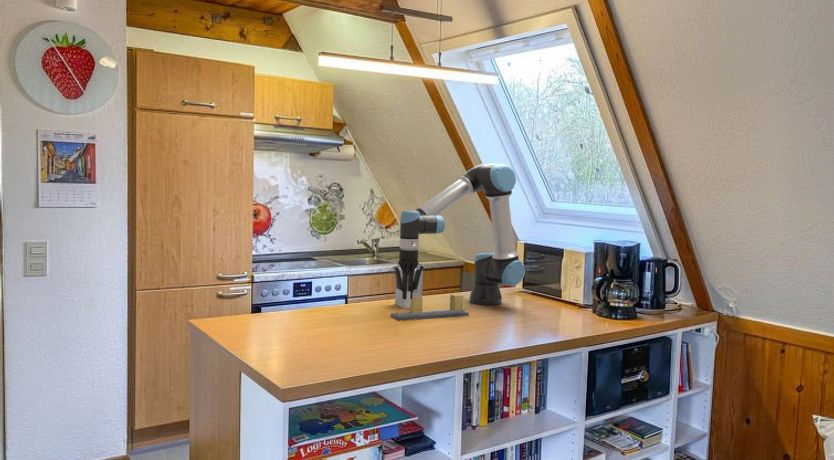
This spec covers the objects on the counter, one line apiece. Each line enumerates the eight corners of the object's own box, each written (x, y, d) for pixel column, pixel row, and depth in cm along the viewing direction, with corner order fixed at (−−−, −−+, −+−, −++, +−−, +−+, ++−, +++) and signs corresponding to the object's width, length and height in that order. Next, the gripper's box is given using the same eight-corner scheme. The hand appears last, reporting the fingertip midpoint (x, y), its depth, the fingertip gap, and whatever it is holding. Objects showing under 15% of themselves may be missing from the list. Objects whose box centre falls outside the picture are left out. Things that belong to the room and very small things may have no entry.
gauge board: (390, 316, 259) (391, 295, 258) (458, 311, 273) (459, 292, 272) (399, 320, 251) (399, 299, 250) (468, 315, 265) (469, 295, 264)
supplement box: (394, 304, 282) (395, 267, 281) (413, 303, 286) (414, 266, 285) (402, 308, 274) (404, 270, 272) (422, 307, 278) (423, 269, 276)
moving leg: (405, 311, 261) (406, 295, 260) (414, 311, 262) (415, 294, 262) (413, 315, 254) (413, 298, 254) (421, 315, 256) (422, 297, 256)
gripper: (397, 250, 247) (395, 310, 249) (427, 249, 253) (425, 308, 255) (390, 248, 254) (388, 306, 256) (419, 247, 259) (417, 304, 261)
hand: (406, 307), depth 255 cm, fingers closed
